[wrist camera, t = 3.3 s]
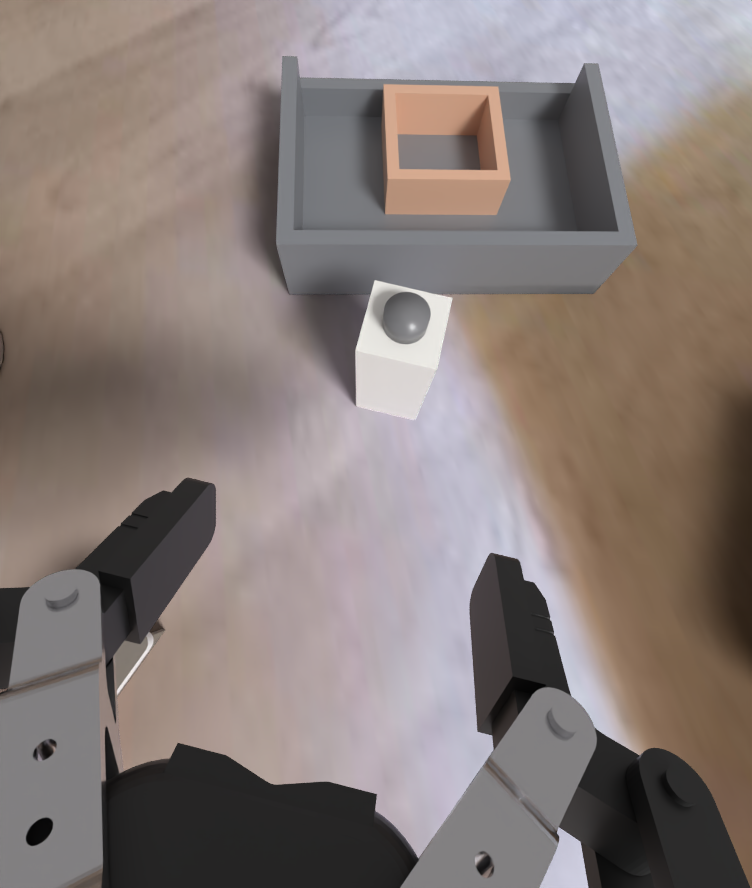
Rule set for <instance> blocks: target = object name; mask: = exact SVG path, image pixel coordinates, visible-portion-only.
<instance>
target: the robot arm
mask: <svg viewBox="0 0 752 888" xmlns="http://www.w3.org/2000/svg"><path fill="white" fill-rule="evenodd" d="M3 348H4V347H3V341H2V335H1V333H0V367H1V364H2V359H3ZM215 526H216V488H215V485H214V484H212V483H208V482H204V481H200V480H196V479H192V478H186V479H184V480H183V481H182V482H181V483H180V484H179V485H178V486H177V487H176V488H175V489H174V491H173V492H172V493H171V492H167V491H161V492H159V493H157V494H156V495H154V496H152V497H150V498H148V499H146V500H144V501H143V502H142V503H141V504H140V505H139V506H138V507H137V508H136V509H135V510H134V511H133V512H132V515H131V516H130V515H129V516H128V517H127V518H126V519H125V520H124V521H123V522H122V523H121V526H120V527H119V526H118V527H117V528H116V529H115V530H114V531H113V532H112V533H111V534H110V535H109V536H108V537H107V538H106V539H105V540H104V541H103V542H102V543H101V544H100V545H99V546H98V547H97V548H96V549H95V550H94V551H93V552H92V553H91V554H90V555H89V556H88V557H87V558H86V559H85V560H84V561H83V562H82V563H81V564H80V565H79V566H78V567H76V568H75V569H73V570H64V571H60V572H56V573H53V574H51V575H48V576H46V577H44V578H42V579H41V580H39V581H37V582H36V583H35V584H34V585H32V586H31V587H25V588H0V689H6V688H8V689H7V691H4V692H1V693H0V888H539V887H540V885H541V883H542V880H543V878H544V876H545V874H546V872H547V869H548V867H549V865H550V863H551V861H552V858H553V856H554V854H555V851H556V849H557V846H558V843H559V836H558V834H557V830H558V827H560V828H561V829H563V830H564V831H566V832H567V833H569V834H570V835H572V836H573V837H575V838H576V839H578V840H579V841H581V846H582V852H583V858H584V863H585V869H586V875H587V881H588V886H589V888H750V886H749V883H748V881H747V878H746V876H745V874H744V871H743V869H742V866H741V864H740V861H739V859H738V857H737V854H736V852H735V849H734V847H733V844H732V842H731V840H730V837H729V835H728V832H727V830H726V827H725V825H724V823H723V820H722V818H721V815H720V813H719V811H718V808H717V806H716V803H715V801H714V799H713V797H712V794H711V793H710V791H709V789H708V788H707V786H706V784H705V783H704V782H703V780H702V779H701V778H700V776H699V775H698V774H697V773H696V772H695V771H694V770H693V769H692V768H691V767H690V766H689V765H688V764H687V763H686V762H685V761H683V760H682V759H681V758H679V757H678V756H676V755H674V754H673V753H671V752H669V751H666V750H664V749H659V748H651V749H648V750H646V751H644V752H643V753H642V754H641V755H638V754H636V753H634V752H633V751H631V750H629V749H628V748H626V747H624V746H622V745H621V744H619V743H617V742H615V741H614V740H612V739H610V738H609V737H607V736H605V735H604V734H602V733H601V732H599V731H598V730H597V729H596V728H595V727H594V725H593V722H592V720H591V718H590V717H589V715H588V713H587V712H586V711H585V709H584V708H583V707H582V706H581V705H580V703H578V702H577V701H576V700H575V699H574V698H573V697H571V694H570V691H569V687H568V684H567V680H566V676H565V672H564V668H563V664H562V661H561V657H560V653H559V649H558V645H557V641H556V638H555V636H554V630H553V626H552V622H551V621H550V615H549V611H548V607H547V603H546V600H545V598H544V597H543V595H542V594H541V592H540V591H539V589H538V588H537V586H536V585H535V583H534V582H529V581H525V580H524V578H523V574H522V569H521V565H520V562H519V560H518V559H515V558H511V557H507V556H503V555H498V554H494V553H491V554H489V556H488V558H487V560H486V562H485V564H484V566H483V568H482V571H481V573H480V575H479V577H478V579H477V581H476V584H475V586H474V588H473V591H472V594H471V599H470V625H471V640H472V655H473V670H474V685H475V700H476V715H477V730H478V732H481V733H485V734H489V735H492V736H493V747H494V750H493V752H492V753H491V755H490V756H489V758H488V759H487V760H486V762H485V763H484V765H483V766H482V768H481V769H480V771H479V772H478V773H477V775H476V776H475V778H474V779H473V781H472V782H471V784H470V785H469V787H468V788H467V789H466V791H465V792H464V794H463V795H462V797H461V798H460V800H459V801H458V802H457V804H456V805H455V807H454V808H453V810H452V811H451V813H450V814H449V815H448V817H447V818H446V820H445V821H444V823H443V824H442V826H441V827H440V828H439V830H438V831H437V833H436V834H435V836H434V837H433V838H432V840H431V841H430V843H429V844H428V846H427V847H426V849H425V850H424V851H423V853H422V854H421V856H420V857H419V859H418V857H417V856H416V854H415V852H414V850H413V849H412V847H411V846H410V845H409V843H408V842H407V840H406V839H405V838H404V836H403V835H402V834H401V833H400V832H399V831H398V830H397V828H396V827H395V826H394V825H393V824H392V823H390V822H389V821H388V820H387V819H386V818H385V817H383V816H382V815H381V814H379V813H378V812H376V811H375V805H376V796H377V794H374V793H370V792H366V791H362V790H358V789H354V788H350V787H346V786H343V785H339V784H335V783H331V782H313V783H298V784H282V785H274V784H270V783H268V782H266V781H265V780H263V779H262V778H260V777H259V776H257V775H256V774H254V773H252V772H251V771H249V770H248V769H246V768H245V767H243V766H242V765H240V764H239V763H237V762H236V761H234V760H233V759H231V758H229V757H228V756H226V755H223V754H219V753H215V752H211V751H207V750H203V749H199V748H195V747H192V746H188V745H184V744H180V743H178V744H177V746H176V748H175V750H174V752H173V754H172V756H171V758H170V759H161V760H156V761H150V762H147V763H144V764H141V765H138V766H135V767H132V768H130V769H128V770H126V771H124V770H123V759H122V750H121V743H120V734H119V719H118V701H117V683H116V664H115V653H116V652H117V650H118V649H119V647H120V646H121V645H122V643H123V642H124V641H129V642H133V643H137V644H141V643H142V641H143V640H144V638H145V637H146V636H147V634H148V633H149V631H150V630H151V628H152V627H153V625H154V624H155V622H156V621H157V620H158V618H159V617H160V615H161V614H162V612H163V611H164V609H165V608H166V606H167V605H168V604H169V602H170V601H171V599H172V598H173V596H174V595H175V593H176V592H177V590H178V589H179V588H180V586H181V585H182V583H183V582H184V580H185V579H186V577H187V576H188V574H189V573H190V572H191V570H192V569H193V567H194V566H195V564H196V563H197V561H198V560H199V558H200V557H201V556H202V554H203V553H204V551H205V550H206V548H207V547H208V545H209V544H210V542H211V540H212V537H213V534H214V531H215Z"/></svg>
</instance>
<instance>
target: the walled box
mask: <svg viewBox="0 0 752 888" xmlns="http://www.w3.org/2000/svg"><path fill="white" fill-rule="evenodd" d="M276 246H277V250H278V254H279V257H280V261H281V265H282V269H283V272H284V276H285V280H286V284H287V287H288V291H289V294H371V292H372V288H373V284H374V281H375V280H376V281H381V282H385V283H389V284H394V285H398V286H402V287H406V288H411V289H415V290H419V291H424V292H428V293H432V294H594V293H595V292H596V290H597V289H598V288H599V287H600V286H601V285H602V284H603V283H604V282H605V281H606V279H607V278H608V277H609V276H610V275H611V274H612V273H613V272H614V271H615V270H616V268H617V267H618V266H619V265H620V264H621V263H622V262H623V261H624V260H625V258H626V257H627V256H628V255H629V254H630V253H631V252H632V251H633V250H634V249H635V247H636V246H637V241H636V237H635V232H634V227H633V223H632V218H631V213H630V209H629V204H628V199H627V195H626V190H625V185H624V181H623V176H622V172H621V167H620V162H619V158H618V153H617V148H616V144H615V139H614V134H613V130H612V125H611V120H610V116H609V111H608V107H607V102H606V97H605V93H604V88H603V83H602V79H601V74H600V69H599V65H598V64H592V63H584V65H583V67H582V70H581V72H580V74H579V76H578V78H577V80H576V83H534V82H487V81H440V80H393V79H346V78H300V75H299V67H298V59H297V57H294V56H282V83H281V112H280V142H279V171H278V200H277V229H276Z"/></svg>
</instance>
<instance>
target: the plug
mask: <svg viewBox="0 0 752 888" xmlns="http://www.w3.org/2000/svg"><path fill="white" fill-rule="evenodd" d="M451 302H452V298H450V297H445V296H441V295H437V294H432V293H428V292H424V291H419V290H415V289H411V288H406V287H402V286H398V285H394V284H389V283H385V282H381V281H376V280H375V281H374V284H373V288H372V292H371V295H370V299H369V303H368V306H367V310H366V314H365V317H364V321H363V325H362V328H361V332H360V336H359V339H358V343H357V347H356V350H355V359H356V407H360V408H364V409H368V410H373V411H377V412H381V413H385V414H390V415H394V416H398V417H402V418H406V419H411V420H416V417H417V415H418V413H419V410H420V408H421V406H422V403H423V401H424V399H425V396H426V394H427V392H428V389H429V387H430V385H431V382H432V380H433V378H434V376H435V373H436V371H437V367H438V363H439V358H440V353H441V349H442V344H443V340H444V335H445V330H446V326H447V321H448V316H449V312H450V307H451Z"/></svg>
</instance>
